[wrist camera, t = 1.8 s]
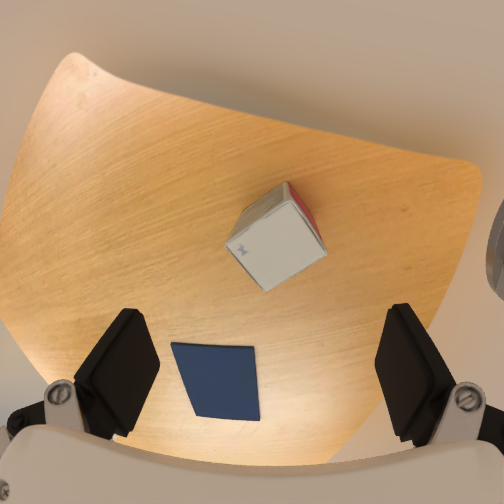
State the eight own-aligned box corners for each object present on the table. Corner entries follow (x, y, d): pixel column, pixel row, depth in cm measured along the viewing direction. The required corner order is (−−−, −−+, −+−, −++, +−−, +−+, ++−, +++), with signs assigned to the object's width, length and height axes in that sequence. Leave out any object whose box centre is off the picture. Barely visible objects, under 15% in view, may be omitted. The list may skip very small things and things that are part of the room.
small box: (268, 249, 25) (263, 296, 18) (239, 211, 24) (221, 246, 17) (315, 218, 24) (330, 255, 16) (287, 178, 22) (291, 197, 15)
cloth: (253, 346, 30) (253, 348, 30) (260, 419, 36) (259, 421, 36) (171, 342, 31) (170, 344, 31) (196, 414, 37) (196, 416, 37)
